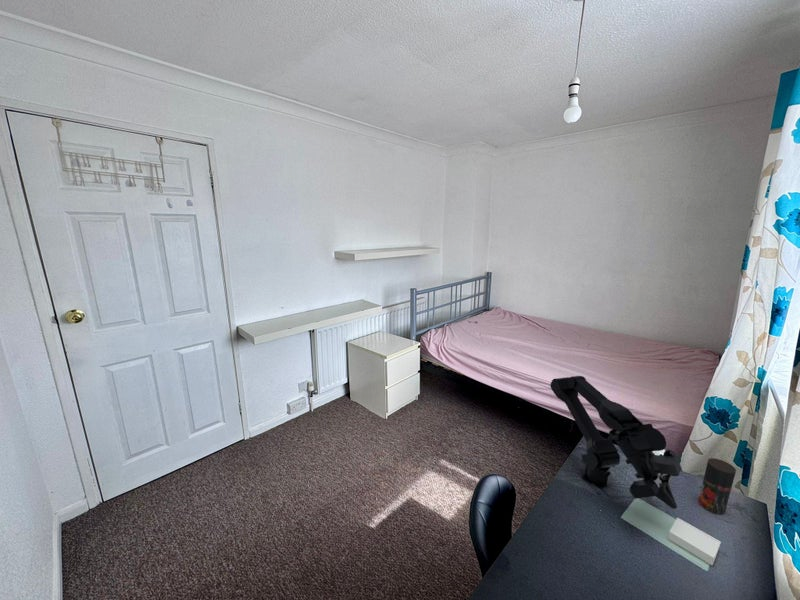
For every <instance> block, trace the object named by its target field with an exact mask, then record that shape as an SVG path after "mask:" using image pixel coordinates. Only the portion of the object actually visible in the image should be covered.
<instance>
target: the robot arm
mask: <svg viewBox="0 0 800 600" xmlns="http://www.w3.org/2000/svg"><path fill="white" fill-rule="evenodd" d="M549 386H550V388H551V391H552V392H553V394H554V396H556V397H557V399H559V400H560V401H562V402H564V404H565V406H566V407H567V409H568V411H569V413H570V415H571V416H572V419H573V420H574V421H575V424H576V425H577V427H578V429H579V431H580V432H581V434H582V436H583V438H584V440H585V442H586V450H585V451H586V453H583V454H581V460H582V461H581V462H582V463H583V464H585V467H584V474H583V475H582V476H581V479H582V480H584V481H586V482H588V483H589V484H592V485H593V486H595V487H596V488H599V489H601V490H603V489H604V488H605V487H608V486H609V485H610V484H611V477H612V472H611V468H615V467H616V466H619V464H620V461H621V455H620V453H619V450H618V448H616V446H615V444H614V442H615V443H616V444H617V446H618V447H619V449H620V450H621V452H622V453H623V454H624V456H625V457H626V459H625V460H624V461H625V463H626V464H627V465H631V466H632V467H633V469H634V470H635V474H634V476H635V477H636V478H637V479H639V480H634V481H633V482H632V484H631V485H630V486H629V490H628V491H629V493H630V495H631V496H632V497H633V499H636V498H639V499H643V498H651V497H655V498H657V499H658V500H660V501H661V502H662V503H664V504H665V505H667V506H668V507H670V508H671V509H673V510H674V509H675V510H676V509H677V508H678V505H677V502H676V500H675V497H674V495H673V492H672V489H671V486H670V479H671V477H678V476H680V474H681V471H683V469H682V466H681V461H682V460H681V458H679V456H678V455H677V454H676V453H675V452H674V451H673V449H666V447H667V439H666V438H665V437H666V436H665V435H663V433H662V432H661V431H660V430H659V429H656V428H654V427H653V424H652V423H643V421H641V420H640V419H638V418H637V417H636V416H635V415H634V414H633V413H632V411H631V410H630V409H629V408H627V407H625V406H624V405H623V404H620V403H618V402H616V401H613V400H610V399H609V398H608V397H606V396H605V395H604V394H603V393H602V392H601V391H599V390H598V389H597V388H596V387H595V386H593V385H592V384H591V383H590V382H588V381H587V379H586V377H584V376H583V375H574V376H573V375H572V376H568V377H565V376H564V377H558V378H556V377H555V378H552V380H551V382H550V384H549ZM579 395H580V396H581V397H583V399H584V400H586V401H587V402H588V403H589V404H590V405H591V406H592V407H593V408H595V410H596V411H597V413H598V416H599V418H600V419H601V421H602V422H603V423H604V425H606V427H607V428H609V429H611V430H609V431H608V438H605V437H603V436H602V435H601V434H600V432H599V430H598V429H597V427H596V425H595V423H594V421H593V420H592V418H591V416H590V415H589V414H588V411H587V410H586V409H585V406H584V405H583V403H582V401H581V400H580V398H579ZM613 441H614V442H613ZM661 450H665V452H664V455H662V454H660V455H655V454H654V453H653V452H652V451H661ZM640 479H641V480H640Z"/></svg>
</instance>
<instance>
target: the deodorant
mask: <svg viewBox="0 0 800 600" xmlns="http://www.w3.org/2000/svg"><path fill="white" fill-rule="evenodd" d="M736 472H737V469H736V468H735V466H733V465H732V464H731V463H729V462H727V461H725V460H722V459H719V458H714V457H713V458H712V457H711V458H708V460H707V463H706V468H705V471H704V476H703V480H702V482H701V483H702V484H701V487H700V490H699V491H700V492H699V496H698V499H697V502H698V504H699V505H700V506H701V507H702V508H703V509H704V510H705V511H707V512H708V513H712V514H715V515H719V516H722V515H724V514H725V513H726V511H727V507H728V503H729V498H730V495H731V491H732V487H733V483H734V479H735V476H736Z"/></svg>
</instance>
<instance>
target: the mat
mask: <svg viewBox="0 0 800 600" xmlns="http://www.w3.org/2000/svg"><path fill="white" fill-rule="evenodd" d="M620 519H622V520H624V521H625V522H627V523H629V524H630V525H632V526H634V527H635V528H637V529H638V530H640V531H641V532H643V533H645V534H646V535H647V536H649V537H651V538H652V539H654V540H656V541H657V542H659V543H661V544H662V545H664V546H666V547H667V548H669V549H670V550H672V551H673V552H675V553H677V554H678V555H680V556H681V557H683V558H685V559H686V560H688V561H690V563H691V562H692V564H694V565H696V566H698V567H700V568H701V569H703V571H706V572H708V571H709V569H710V566H711V565H710V564H708V563H706V562H705V561H703V560H701V559H700V558H698V557H697V556H695V555H693V554H692V553H690V552H688V551H687V550H685V549H683V548H682V547H680V546H678V545H677V544H675V543H674V542H672V541H670V540H669V539H668V535H669V531H670V529H671V528H672V526H673V524H674V522H675V521H676V519H677V518H674V517H673V516H671V515H669V514H668V513H666V512H664V511H662V510H660V509H659V508H656V507H655V506H654V505H651V504H650V503H648V502H646V501H644V500H643V499H642V498H636V499H635V498H633V500H632V502H631V503H630V505H629V506H628V507H627V508H626V509H625V511H624V512H623V514H622V515H621V516H620Z"/></svg>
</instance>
